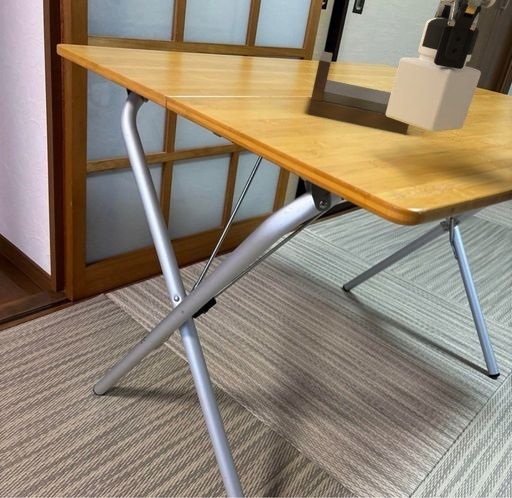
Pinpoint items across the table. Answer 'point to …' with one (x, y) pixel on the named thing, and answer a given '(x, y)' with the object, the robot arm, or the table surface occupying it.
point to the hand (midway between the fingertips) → (441, 61)
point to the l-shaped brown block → (350, 102)
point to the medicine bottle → (432, 86)
